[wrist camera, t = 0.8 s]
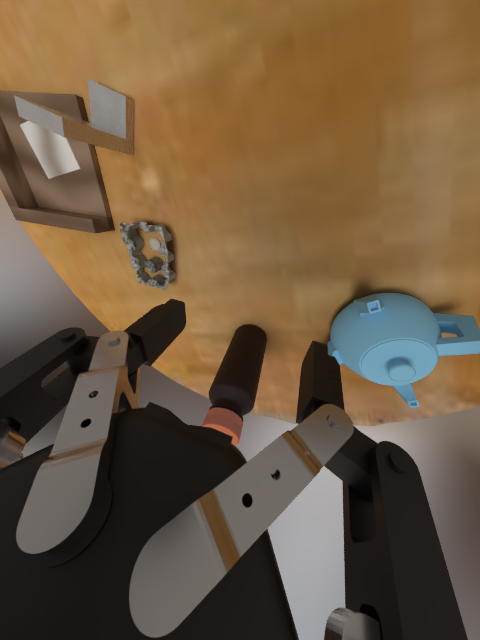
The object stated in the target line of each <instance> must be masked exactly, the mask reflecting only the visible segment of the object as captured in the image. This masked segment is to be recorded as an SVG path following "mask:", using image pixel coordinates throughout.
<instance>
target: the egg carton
mask: <svg viewBox="0 0 480 640" xmlns="http://www.w3.org/2000/svg"><path fill="white" fill-rule="evenodd" d="M139 227H140V229H142V230H143V231H144V232H152V231H155V230H156V232H157V233H159V234H160V235H161V236H162V237H163V243H160V241H159V240H158V239H157V238H154V237H153V238H151V239H150V246H151V248H152V249H153V250H155V251H159V250H160V252H159V253H160V254H161V255H162V256H165V257H166V259H165V263H163V261H162V260H161V259H160V258H158V257H154V258H152V259H149V260H147V259H146V257H145V256H144V255H142V253H141V250H140V249H141V248H143V247H144V241H143V239H142V237H140V236H139V235H138V234H137V228H139ZM120 228H121V230H120V231H121V234H122V238H123V241H124V243H125V244H127V251H128V253H129V254H130V258H131V264H132V266H133V268H134V270H135V273H136V274H137V275H138V277H137V281H138V283H145V285H150V286H152V287H156V288H162V289H164V290H167V287H168V284H169V283H170V282H171V280H173V279H175V278H176V273H175V272H173V271H172V270H171V269H170V267H169V262H171V261H173V260H174V254H172V253H171V252H169V250H168V248H167V242H168V241H170V240H172V234H171V233H169V232H168V231H167V230H166V229H165V226H164V225H161V224H158V225H147V223H146V222H137V223H133V224H129V223H121V224H120ZM166 262H167V263H166ZM145 266H146V268H147V269H148V270H149V271H150V272H151V273H155V272H157V271H159V270H161V273H162V274H163V275H164V277H166V278H167V279H166V280H165V278H164V277H163V276H162V275H156V276H155V277H153V278H150V276H149V274H148V273H146V272H145V271H144V267H145Z"/></svg>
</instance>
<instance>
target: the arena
mask: <svg viewBox="0 0 480 640" xmlns="http://www.w3.org/2000/svg"><path fill="white" fill-rule="evenodd" d="M14 95H15V96H17V97H20V98H23V99H26V100H28V101H31V102H34V103H37V104H39V105H42V106H45V107H48V108H51V109H53V110H56V111H59V112H62V113H64V114H67V115H70V116H73V117H75V118H78V119H81V120H84V121H87V122H88V118H87V114H86V110H85V106H84V102H83V98H82V97H79V96H77V95H71V94H51V93H30V92H10V91H0V188H1V190H2V192H3V194H4V196H5V198H6V200H7V203H8V205H9V207H10V209H11V210H12V213H13V215H14V217H15V219H16V220H20V221H25V222H31V223H37V224H43V225H49V226H55V227H61V228H67V229H73V230H79V231H85V232H91V233H100V232H106V231H111V230H115V229H114V225H113V221H112V217H111V213H110V208H109V204H108V200H107V196H106V192H105V188H104V184H103V180H102V176H101V172H100V167H99V163H98V159H97V155H96V151H95V147H94V145H92V144H88V143H84V142H80V141H76V140H73V139H69V138H65V137H62V136H60V135H58V134H56V133H54V132H52V131H49V130H47V129H45V128H43V127H41V126H39V125H36V124H34V123H32V122H30V121H28V120H26V119H23V118H21V117H19V115H18V110H17V106H16V102H15V98H14Z"/></svg>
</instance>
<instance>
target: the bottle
mask: <svg viewBox="0 0 480 640" xmlns="http://www.w3.org/2000/svg"><path fill="white" fill-rule="evenodd" d="M266 342H267V339H266V335H265V333H264V332H263V331H262V330H261V329H260V328H258V327H256V326H254V325H243V326H241V327H239V328H238V329H237V330H236V332H235V334H234V336H233V338H232V341H231V343H230V345H229V347H228V350H227V352H226V354H225V356H224V359H223V361H222V363H221V365H220V368H219V370H218V372H217V374H216V377H215V379H214V381H213V383H212V386H211V388H210V390H209V398H210V400H211V403H212V405H213V406H211V407H210V409H209V410H208V412H207V415H206V417H205V419H204V422H203V424H202V427H211V428H213V429H216V430H218V431H221V432H223V433H225V434H228V435H230V436H232V437H233V438H232V444H233V445H236V444H237V443H238V442H239V439H240V434H241V430H242V426H243V417H242V416H243V415H245V414H247V413H249V412H250V411H251V410H252V408H253V407H254V403H255V398H256V393H257V388H258V383H259V378H260V373H261V368H262V363H263V358H264V353H265V348H266Z"/></svg>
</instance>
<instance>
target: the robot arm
mask: <svg viewBox="0 0 480 640" xmlns="http://www.w3.org/2000/svg"><path fill="white" fill-rule="evenodd" d="M185 325H186V313H185V304H184V302H182V301H178V300H175V299H170V300H169V301H168V302H166V303H165V304H161V305H159V306H156V307H154V308H153V309H151V310H150V311H149V312H148V313H146V314H145V315H144V316H143V317H141V318H140V319H138V320H137V321H136V322H135V323H133V324H132V325H131V326H129V327H128V328H127V329H126V330H124V331H112V332H109V333H106V334H105V335H103V336H101V337H93V336H87V335H86V333H85V331H84V330H83V329H81V328H68V329H64V330H62V331H59V332H57V333H56V334H54V335H53V336H51V337H49V338H48V339H46V340H45V341H43V342H42V343H40V344H38V345H37V346H35V347H33V348H32V349H30V350H29V351H27V352H25V353H24V354H22V355H21V356H19V357H17V358H16V359H14V360H13V361H11V362H10V363H8V364H6V365H5V366H3V367H2V368H0V640H299V639H298V635H297V632H296V628H295V624H294V621H293V617H292V614H291V610H290V607H289V603H288V600H287V596H286V593H285V589H284V586H283V582H282V579H281V575H280V572H279V568H278V565H277V561H276V557H275V554H274V551H273V547H272V543H271V540H270V536H269V533H268V529H267V528H268V527H269V526H270V525H271V523H273V522H274V520H275V519H276V518H277V517H278V516H279V515H280V514H281V513H282V512H283V511H284V510H285V508H287V506H288V505H289V504H290V503H291V502H292V501H293V500H294V499H295V498H296V497H297V496H298V494H299V493H300V492H301V491H302V490H303V489H304V488H305V487H306V486H307V485H308V484H309V483H310V482H311V481H312V479H313V478H314V477H315V476H316V475H317V474H318V473H319V471H320V469H321V468H322V467H323V466H325V467H326V468H327V469H329V470H330V471H331V472H332V473H334V474H335V475H336V476H337V477H339V478H340V479H341V480H342V481H343V517H344V557H345V558H344V561H345V601H346V602H345V604H346V608H337V609H335V610H334V611H333V612H332V613H331V614H330V616H329V618H328V620H327V623H326V628H325V636H324V640H468V639H467V636H466V632H465V628H464V625H463V621H462V618H461V614H460V611H459V608H458V604H457V601H456V597H455V594H454V590H453V587H452V583H451V580H450V577H449V573H448V569H447V566H446V562H445V559H444V556H443V552H442V549H441V545H440V542H439V538H438V535H437V531H436V528H435V524H434V521H433V517H432V514H431V511H430V507H429V503H428V500H427V496H426V493H425V490H424V486H423V483H422V479H421V476H420V472H419V470H418V467H417V465H416V464H415V462H414V460H413V459H412V458H411V457H410V455H409V454H408V453H407V452H406V451H404V450H403V449H402V448H401V447H400V446H398V445H396V444H394V443H392V442H388V441H382V442H380V443H376V442H375V441H373V440H372V439H370V438H369V437H367V436H366V435H364V434H363V433H361V432H360V431H359V430H358V429H356V428H355V427H354V426H353V423H352V421H351V419H350V417H349V416H348V415H347V413H346V412H345V410H344V401H343V392H342V383H341V375H340V374H341V373H340V365H339V363H338V361H337V360H336V358H335V357H334V356H331V355H328V345H327V344H323V343H320V342H316V341H312V343H311V345H310V347H309V349H308V351H307V354H306V356H305V358H304V360H303V363H302V368H301V377H300V387H299V397H298V407H297V418H296V423H299V425H298V426H296V427H295V428H294V429H293V430H291V431H286V432H285V433H283V434H282V435H281V436H280V437H278V438H277V439H276V440H275V441H273V442H272V443H271V444H269V445H268V446H267V447H266V448H264V449H263V450H262V451H261V452H259V453H258V454H257V455H256V456H254V457H253V458H252V459H251V460H249V462H247V461H246V459H245V458H244V456H243V455H242V453H241V452H240V451H239V450H238V449H237V447H235V446H234V445H233V444H232V438H233V437H232V436H230V435H228V434H225V433H223V432H221V431H218V430H216V429H213V428H211V427H202V426H193V425H187V424H185V423H183V422H182V421H181V420H180V419H179V418H178V417H177V416H175V415H174V414H173V413H172V412H171V411H169V410H168V409H166V408H163V407H161V406H158V405H156V404H153V403H151V402H150V403H149V404H148V405H147V406H146V408H139V404H138V390H139V376H140V369H139V367H140V366H141V365H142V364H145V365H148V366H151V365H152V364H153V363H154V362H155V360H156V359H157V358H158V357H159V356H160V355H161V354H162V353H163V352H164V350H165V349H166V348H167V347H168V346H169V345H170V344H171V343H172V342H173V341H174V339H175V338H176V337H177V336H178V335H179V334H180V333H181V332H182V331H183V329H184V328H185ZM62 363H65V364H66V366H67V367H68V368H67V369H66V370H64V371H63V372H62V373H61V374H59V375H58V376H57V377H56V378H54V379H53V380H52V381H51V382H49V383H48V384H47V385H46V386H44V387H43V388H42V387H41V382H42V380H43V379H44V377H46V376H47V375H48V374H50V373H51V372H52V371H53V370H55V369H56V368H57V367H59V366H60V365H61V364H62ZM67 404H68V406H67V409H66V412H65V415H64V418H63V420H62V423H61V426H60V429H59V432H58V435H57V438H56V440H55V443H54V444H53V445H50V446H48V447H46V448H44V449H42V450H39V451H37V452H35V453H33V454H31V455H29V456H27V457H25V458H23V453H21V452H22V450H23V448H24V446H25V444H26V443H27V442H28V441H29V440H30V439H31V438H32V437H33V436H34V435H36V434H37V433H38V432H39V430H41V429H42V428H43V427H44V426H45V425H46V424H47V423H48V422H49V421H50V420H51V419H52V418H53V417H54V416H55V415H56V414H57V413H59V411H61V410H62V409H63V408H64V407H65V406H66V405H67Z"/></svg>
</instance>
